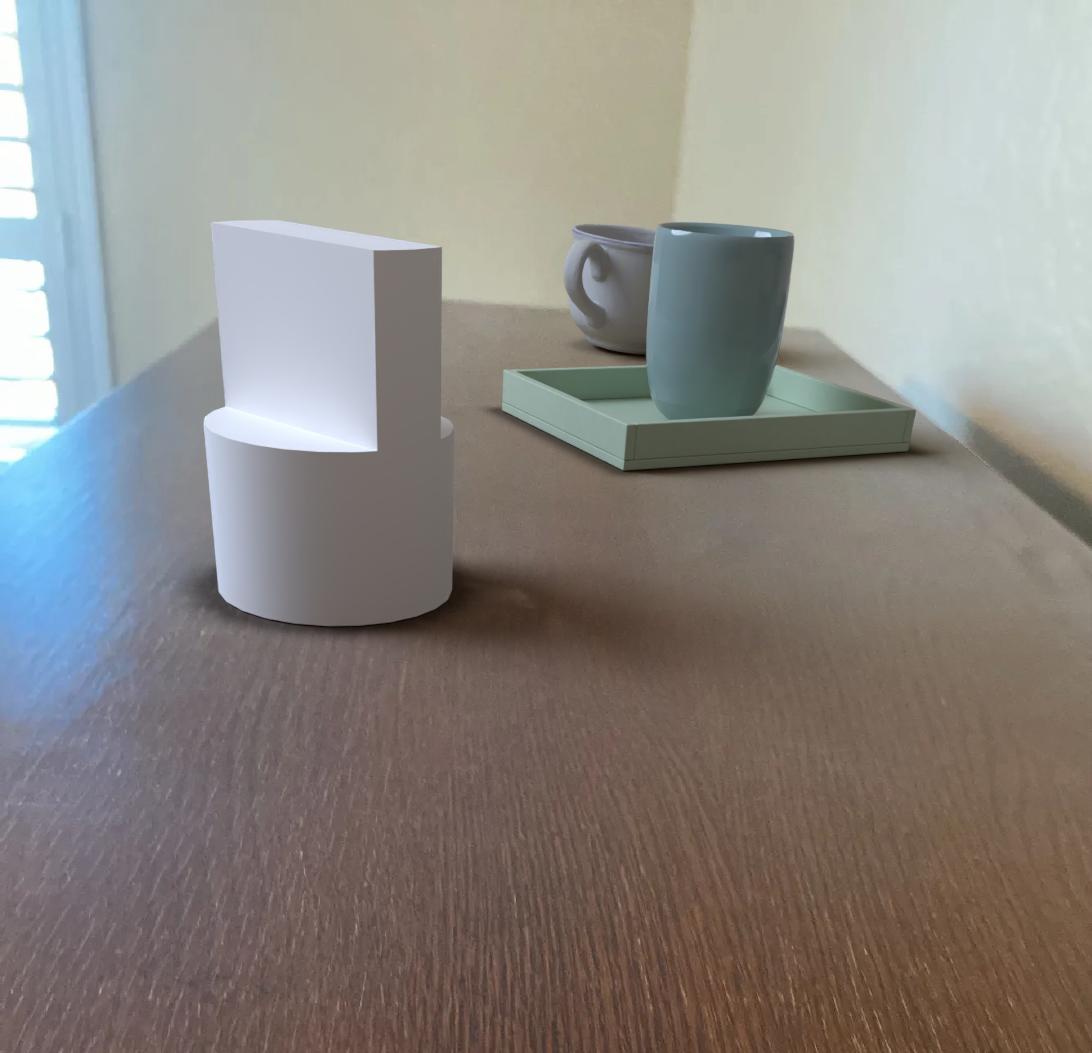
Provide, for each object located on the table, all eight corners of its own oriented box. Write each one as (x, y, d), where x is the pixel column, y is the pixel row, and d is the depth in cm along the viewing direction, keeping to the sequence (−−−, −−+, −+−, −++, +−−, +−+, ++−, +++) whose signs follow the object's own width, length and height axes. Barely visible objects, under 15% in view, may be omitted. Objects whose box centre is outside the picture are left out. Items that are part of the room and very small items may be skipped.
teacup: (638, 333, 108) (647, 222, 103) (733, 356, 101) (747, 238, 96) (505, 344, 100) (509, 224, 95) (598, 369, 93) (607, 241, 89)
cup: (754, 443, 74) (781, 240, 68) (622, 425, 75) (638, 227, 70) (780, 418, 80) (808, 231, 74) (658, 402, 82) (676, 219, 76)
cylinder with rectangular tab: (499, 591, 51) (511, 244, 45) (322, 644, 46) (304, 255, 39) (347, 538, 56) (337, 217, 49) (170, 580, 50) (130, 223, 44)
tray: (761, 398, 87) (766, 361, 86) (908, 451, 76) (916, 409, 75) (501, 410, 80) (502, 369, 78) (623, 471, 69) (626, 424, 67)
